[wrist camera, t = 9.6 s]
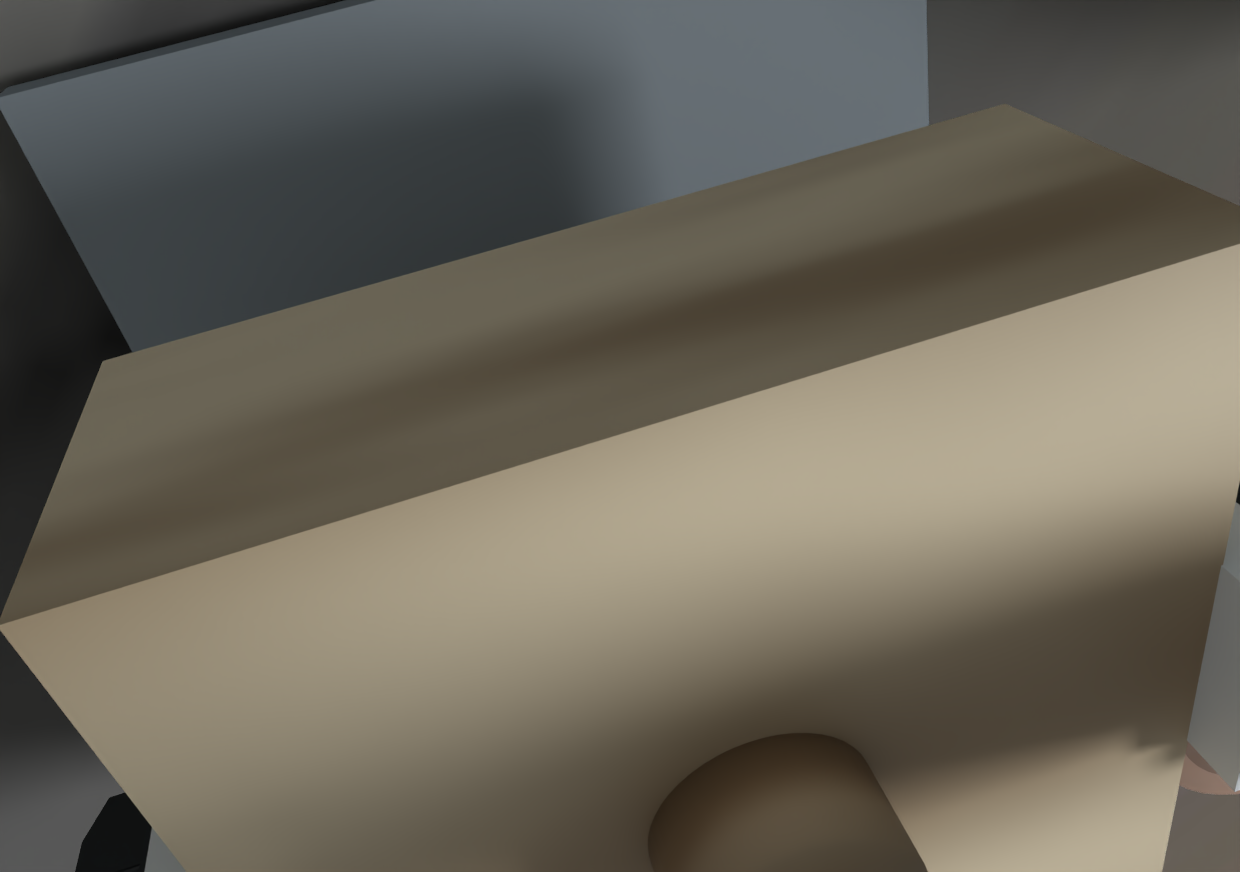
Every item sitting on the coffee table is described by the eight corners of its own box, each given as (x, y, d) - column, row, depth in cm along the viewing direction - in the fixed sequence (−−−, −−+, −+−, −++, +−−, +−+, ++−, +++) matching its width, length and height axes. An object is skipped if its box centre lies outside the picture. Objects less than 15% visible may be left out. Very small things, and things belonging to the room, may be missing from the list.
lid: (103, 361, 10) (-58, 762, 6) (1004, 103, 11) (1429, 288, 7) (407, 900, 16) (438, 1306, 12) (990, 698, 17) (1218, 1003, 12)
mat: (7, 87, 12) (-6, 98, 12) (902, -143, 14) (923, -142, 13) (377, 779, 20) (378, 803, 20) (924, 597, 21) (938, 615, 21)
